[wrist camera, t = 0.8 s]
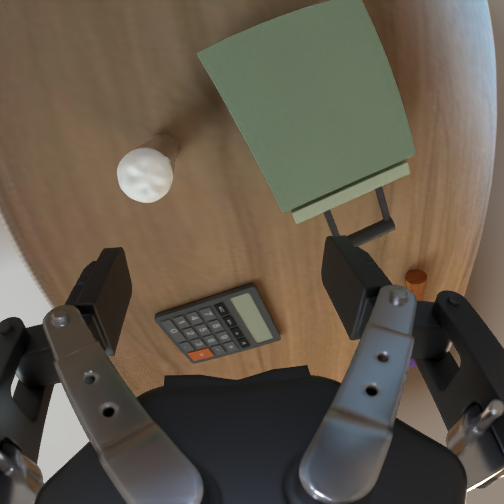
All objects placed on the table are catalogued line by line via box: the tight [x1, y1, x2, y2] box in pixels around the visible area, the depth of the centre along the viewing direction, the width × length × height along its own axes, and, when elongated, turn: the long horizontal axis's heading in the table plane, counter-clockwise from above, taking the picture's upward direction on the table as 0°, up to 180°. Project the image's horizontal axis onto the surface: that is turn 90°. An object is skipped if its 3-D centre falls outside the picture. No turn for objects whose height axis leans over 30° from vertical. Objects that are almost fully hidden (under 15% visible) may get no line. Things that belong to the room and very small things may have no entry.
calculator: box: [155, 283, 281, 363], centre depth 43 cm, size 12×1×15 cm
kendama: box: [405, 270, 427, 367], centre depth 45 cm, size 6×6×20 cm
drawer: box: [291, 160, 410, 247], centre depth 26 cm, size 19×11×7 cm, turn 26°
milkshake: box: [117, 134, 179, 203], centre depth 25 cm, size 5×5×10 cm
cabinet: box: [197, 0, 416, 213], centre depth 23 cm, size 14×13×9 cm
